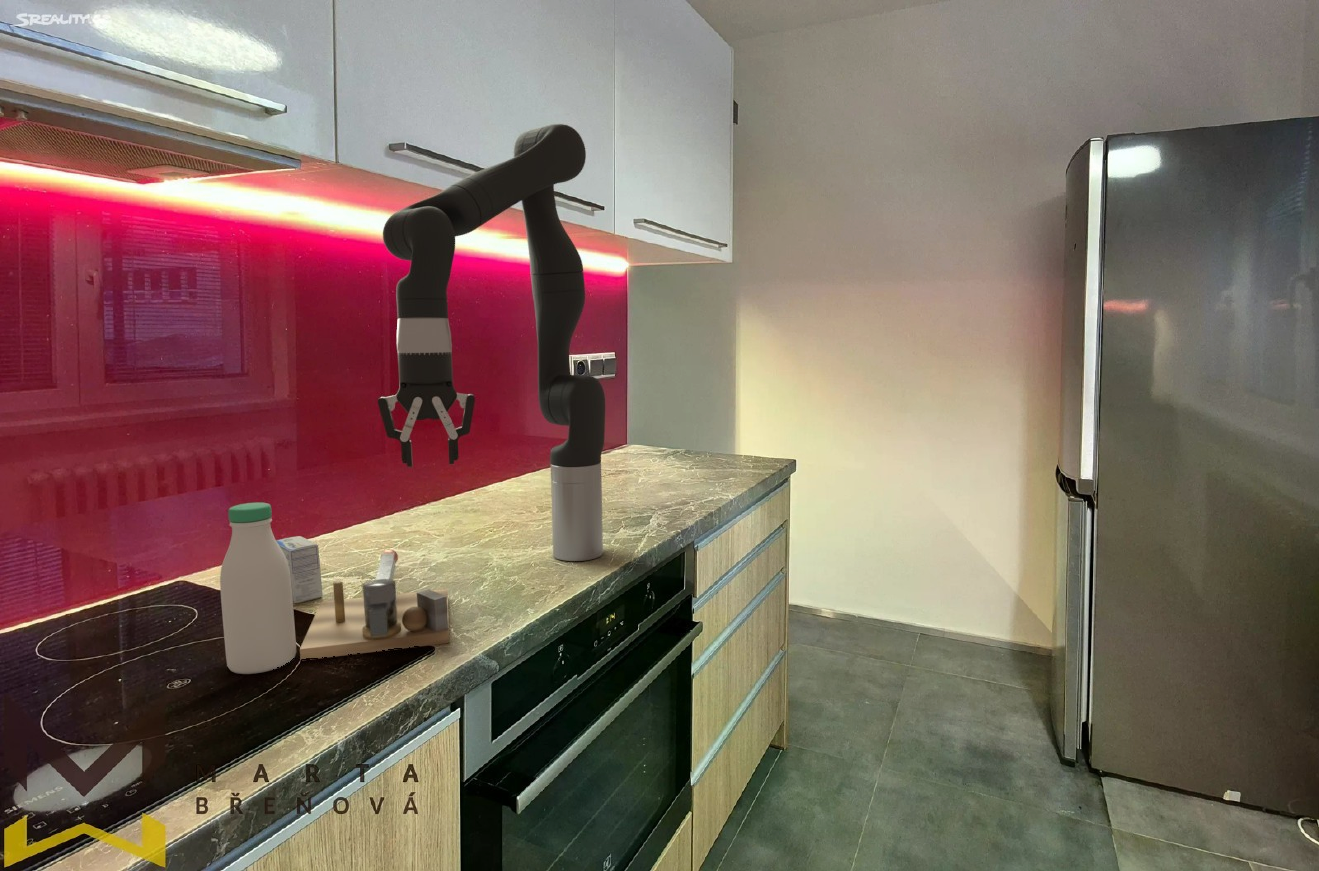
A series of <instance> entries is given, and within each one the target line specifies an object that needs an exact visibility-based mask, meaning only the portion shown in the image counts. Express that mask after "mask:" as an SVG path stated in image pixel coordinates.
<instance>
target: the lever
mask: <svg viewBox="0 0 1319 871" xmlns="http://www.w3.org/2000/svg"><path fill="white" fill-rule="evenodd" d="M398 560H399V554H398V553H397V551H396V550H394V549H386V550H384V551H382V553H381V555H380V561H379V564H378V568H377V572H376V577H375V579H374V580H369V581H367V582H365V583H363V585H362V593H363V597H364V612H365V626H366V627H367V628H369V629H370V635H371V637H374V636H383V635H387V634H388V629H389V627H391V626H393V625H395V624H396V623H397V622H398V621H397V604H396V594H397V590H396V589H397V588H396V581H395V580H394V577H395V576H394V575H395V570H396V565H397V562H398Z"/></svg>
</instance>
